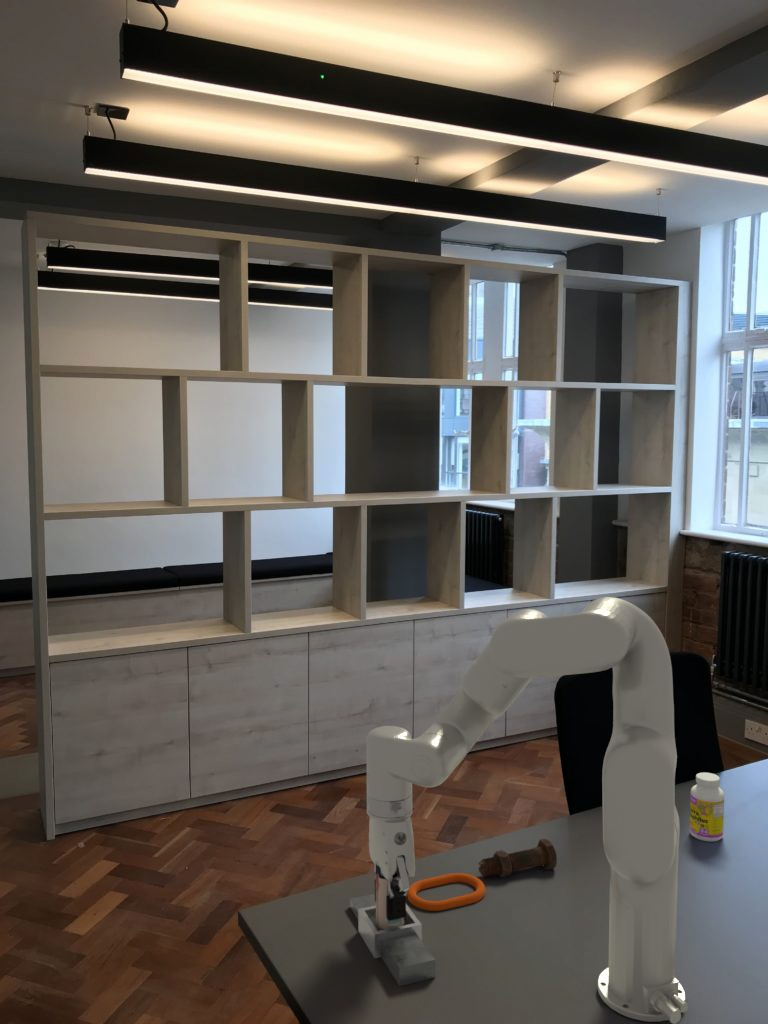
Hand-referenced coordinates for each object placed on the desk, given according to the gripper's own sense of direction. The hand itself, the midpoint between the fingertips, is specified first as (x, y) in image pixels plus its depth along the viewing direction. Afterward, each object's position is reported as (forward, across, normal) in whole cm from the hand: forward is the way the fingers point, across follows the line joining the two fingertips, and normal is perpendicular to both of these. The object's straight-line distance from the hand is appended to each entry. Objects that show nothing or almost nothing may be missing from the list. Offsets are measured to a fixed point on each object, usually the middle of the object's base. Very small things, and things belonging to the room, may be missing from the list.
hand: (390, 908), depth 143 cm
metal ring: (+6, +10, -15) cm, 19 cm away
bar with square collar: (+5, 0, 0) cm, 5 cm away
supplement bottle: (+6, +12, -76) cm, 77 cm away
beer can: (+3, 0, 0) cm, 3 cm away
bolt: (+6, +13, -31) cm, 34 cm away
